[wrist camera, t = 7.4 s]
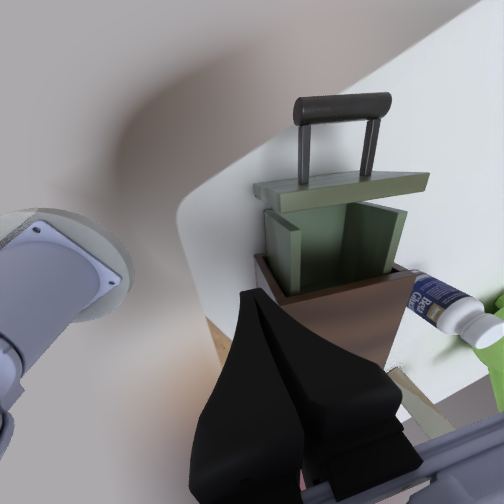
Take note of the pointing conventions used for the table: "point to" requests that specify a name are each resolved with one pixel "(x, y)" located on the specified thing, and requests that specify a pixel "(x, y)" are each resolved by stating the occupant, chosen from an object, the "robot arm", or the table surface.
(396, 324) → the cabinet
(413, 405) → the box
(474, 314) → the pill bottle
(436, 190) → the table surface
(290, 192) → the drawer
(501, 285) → the table surface
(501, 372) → the teapot
